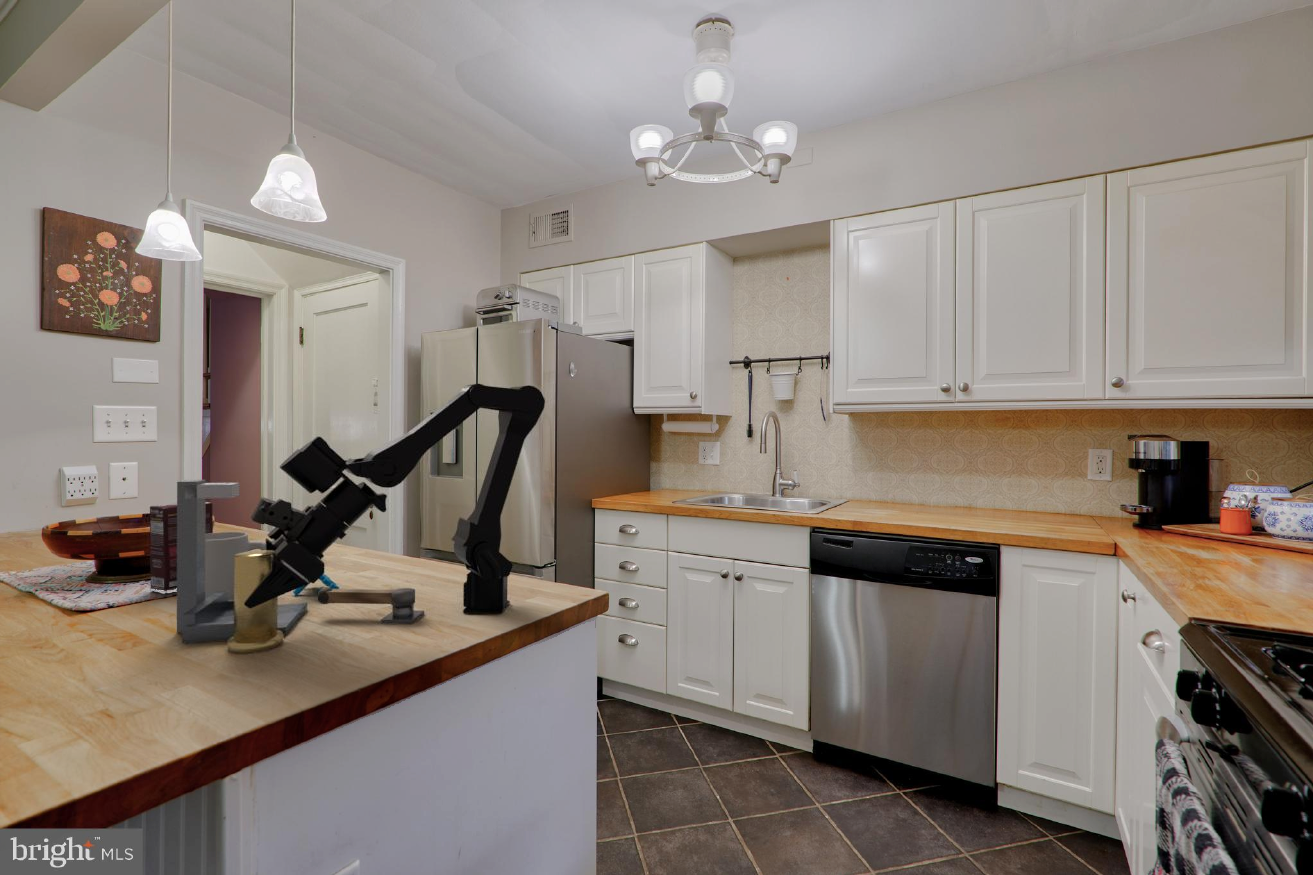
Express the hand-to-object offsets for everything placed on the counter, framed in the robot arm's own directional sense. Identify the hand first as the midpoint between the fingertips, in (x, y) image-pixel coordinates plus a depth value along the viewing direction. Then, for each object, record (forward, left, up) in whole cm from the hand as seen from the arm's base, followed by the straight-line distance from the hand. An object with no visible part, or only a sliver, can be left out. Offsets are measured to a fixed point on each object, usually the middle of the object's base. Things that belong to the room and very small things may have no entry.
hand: (245, 598), depth 87 cm
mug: (+20, -26, -7) cm, 33 cm away
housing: (-1, -1, -7) cm, 7 cm away
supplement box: (+32, -30, -7) cm, 44 cm away
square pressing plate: (-16, -14, -7) cm, 23 cm away
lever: (-10, -14, -5) cm, 18 cm away
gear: (+6, -29, -7) cm, 30 cm away
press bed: (+7, -9, -7) cm, 13 cm away
